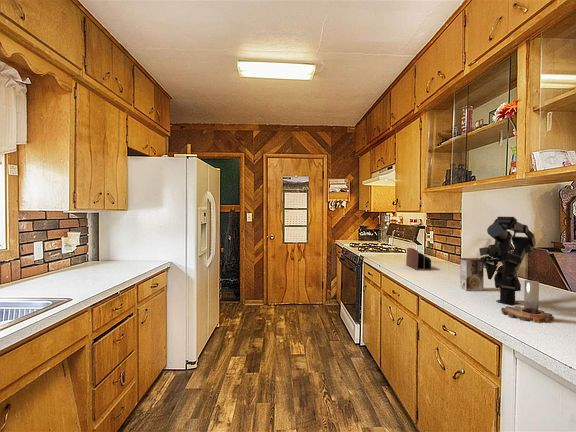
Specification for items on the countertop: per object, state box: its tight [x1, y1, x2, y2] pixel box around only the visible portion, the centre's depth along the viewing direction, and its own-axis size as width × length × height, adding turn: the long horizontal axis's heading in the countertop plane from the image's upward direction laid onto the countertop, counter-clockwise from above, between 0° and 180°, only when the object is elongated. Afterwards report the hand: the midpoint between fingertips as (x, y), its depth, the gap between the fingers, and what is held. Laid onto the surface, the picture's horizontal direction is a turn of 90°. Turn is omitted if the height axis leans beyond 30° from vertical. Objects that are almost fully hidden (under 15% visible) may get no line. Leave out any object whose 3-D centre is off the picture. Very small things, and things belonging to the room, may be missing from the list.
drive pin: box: [523, 279, 540, 314], centre depth 127 cm, size 4×4×13 cm
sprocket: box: [500, 305, 555, 323], centre depth 131 cm, size 16×16×3 cm
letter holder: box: [405, 247, 432, 272], centre depth 235 cm, size 10×20×14 cm, turn 1°
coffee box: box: [459, 257, 485, 292], centre depth 172 cm, size 9×6×16 cm
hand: (496, 279), depth 140 cm, fingers open, 9 cm apart
